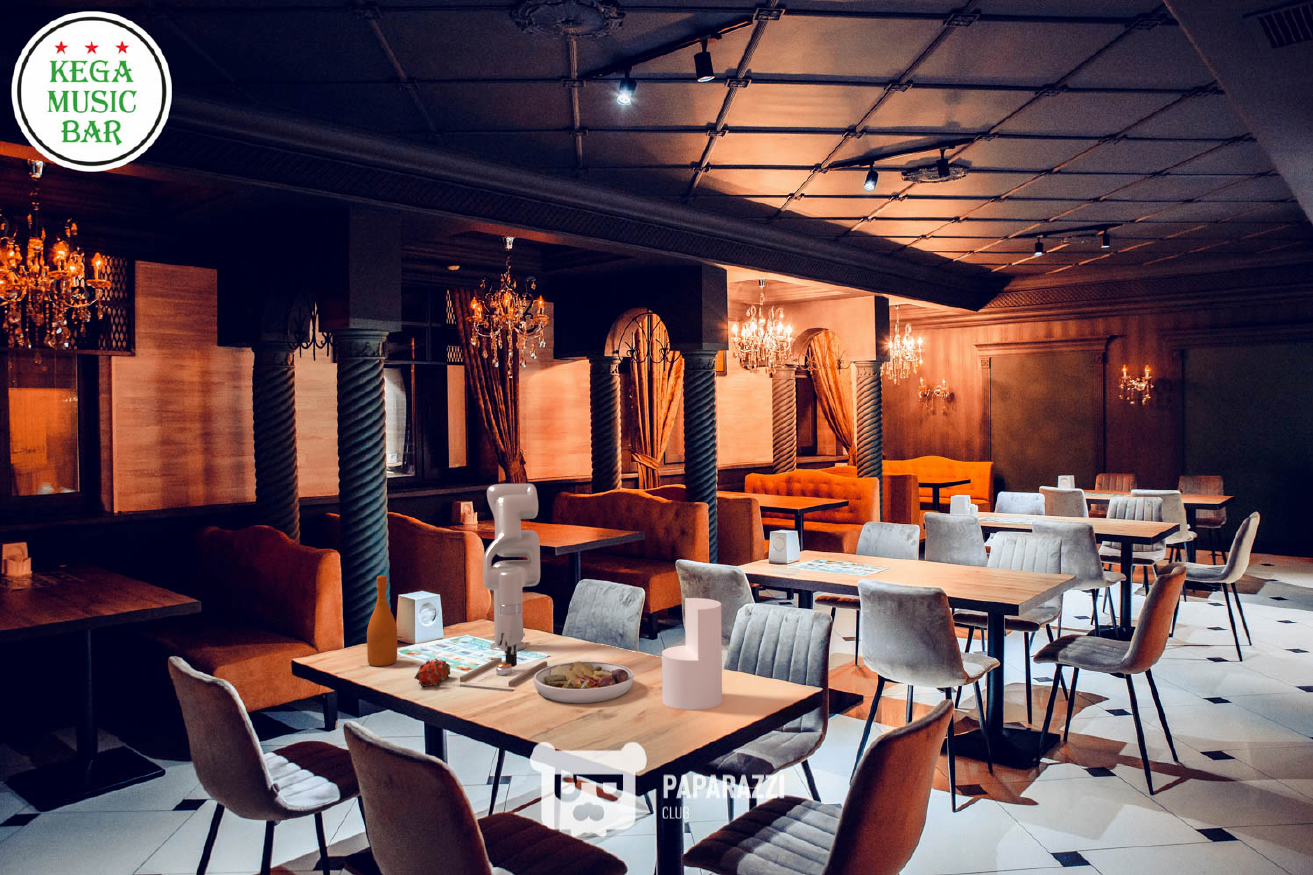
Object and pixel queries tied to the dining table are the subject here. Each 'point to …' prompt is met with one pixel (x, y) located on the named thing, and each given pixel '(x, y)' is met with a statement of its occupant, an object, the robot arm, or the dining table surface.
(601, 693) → the bowl
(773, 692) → the dining table surface
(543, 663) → the board
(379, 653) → the wine bottle
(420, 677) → the dragon fruit
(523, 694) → the dining table surface
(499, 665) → the puck
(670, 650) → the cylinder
